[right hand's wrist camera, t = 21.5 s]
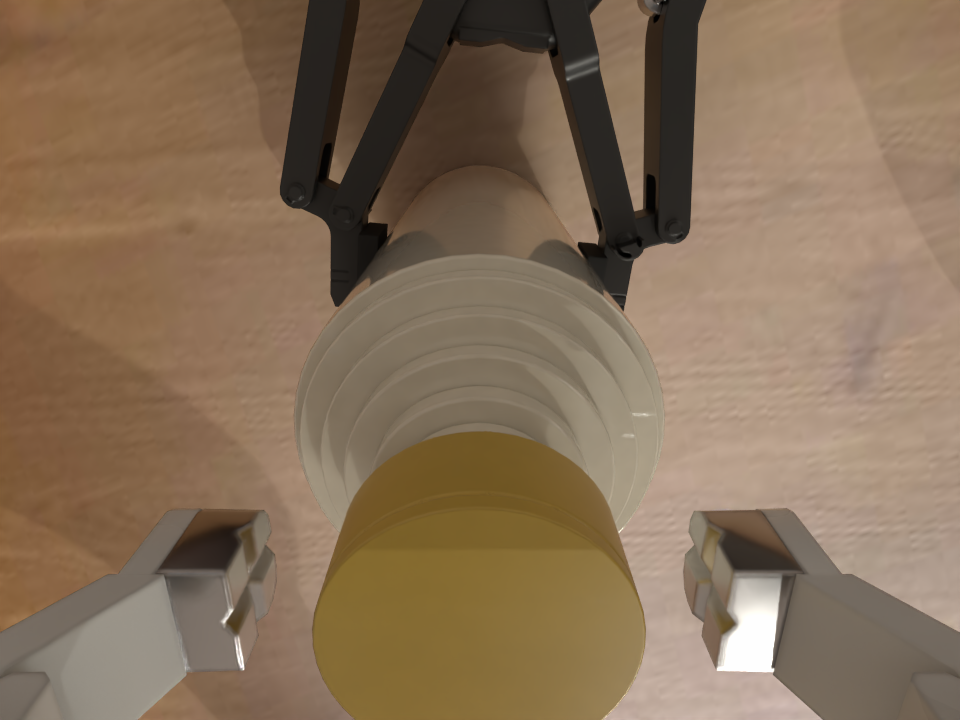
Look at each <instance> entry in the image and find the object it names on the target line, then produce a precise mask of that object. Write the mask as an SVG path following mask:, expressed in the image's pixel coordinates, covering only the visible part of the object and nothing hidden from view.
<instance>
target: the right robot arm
mask: <svg viewBox="0 0 960 720" xmlns="http://www.w3.org/2000/svg"><path fill="white" fill-rule="evenodd" d="M270 534H271V527H270V521H269V516H268V514H267V513H266V512H265V511H264V510H233V509H203V510H202V509H173V510H170V511H167V512H166V513H165V514H164V516H163V517H162V518H161V519H160V521H159V522H158V523H157V525H156V526H155V527H154V528H153V530H152V531H151V532H150V534H149V535H148V536H147V537H146V539H145V540H144V541H143V543H142V544H141V545H140V546H139V548H138V549H137V550H136V552H135V553H134V554H133V555H132V557H131V558H130V559H129V560H128V562H127V563H126V564H125V566H124V567H123V568H122V569H121V571H120V572H119V573H118V574H108V575H106V576H104V577H102V578H100V579H98V580H96V581H95V582H93V583H91V584H89V585H87V586H85V587H83V588H82V589H80V590H78V591H76V592H74V593H72V594H71V595H69V596H67V597H65V598H63V599H61V600H59V601H58V602H56V603H54V604H52V605H50V606H48V607H46V608H45V609H43V610H41V611H39V612H37V613H35V614H33V615H32V616H30V617H28V618H26V619H24V620H22V621H20V622H19V623H17V624H15V625H13V626H11V627H9V628H8V629H6V630H4V631H2V632H0V720H137V719H139V718H140V717H141V716H142V715H143V714H144V713H145V712H146V711H147V710H149V709H150V708H151V707H152V706H153V705H154V704H155V703H156V702H157V701H159V700H160V699H161V698H162V697H163V696H164V695H165V694H166V693H167V692H169V691H170V690H171V689H172V688H173V687H174V686H175V685H176V684H177V683H179V682H180V681H181V680H182V679H183V678H184V677H185V676H186V675H187V673H186V672H205V671H239V670H244V668H245V666H246V664H247V661H248V659H249V657H250V654H251V652H252V650H253V647H254V645H255V643H256V640H257V638H258V630H257V624H256V622H257V621H259V620H260V619H261V618H263V617H264V616H265V615H267V614H268V611H269V609H270V606H271V604H272V601H273V597H274V592H275V587H276V568H277V567H276V560H275V554H274V553H273V552H272V551H271V550H270V549H269V548H268V547H267V546H266V542H267V540H268V538H269V536H270ZM689 534H690V536H691V538H692V540H693V542H694V546H693V547H692V548H691V549H690V550H689V551H688V552H687V553H686V554H685V561H684V569H683V575H684V589H685V593H686V597H687V601H688V604H689V606H690V609H691V611H692V614H693V615H695V616H696V617H697V618H699V619H700V620H701V621H703V622H704V624H703V630H702V638H703V640H704V643H705V645H706V647H707V650H708V652H709V654H710V657H711V659H712V661H713V664H714V666H715V668H716V670H719V671H755V672H774V673H773V675H774V676H775V677H776V678H777V679H778V680H780V681H781V682H782V683H783V684H784V685H785V686H786V687H787V688H788V689H789V690H791V691H792V692H793V693H794V694H795V695H796V696H797V697H798V698H799V699H801V700H802V701H803V702H804V703H805V704H806V705H807V706H808V707H809V708H811V709H812V710H813V711H814V712H815V713H816V714H817V715H818V716H819V717H821V718H822V719H823V720H960V632H958V631H956V630H954V629H952V628H950V627H948V626H947V625H945V624H943V623H941V622H939V621H937V620H936V619H934V618H932V617H930V616H928V615H926V614H924V613H923V612H921V611H919V610H917V609H915V608H913V607H912V606H910V605H908V604H906V603H904V602H902V601H900V600H899V599H897V598H895V597H893V596H891V595H889V594H888V593H886V592H884V591H882V590H880V589H878V588H876V587H875V586H873V585H871V584H869V583H867V582H865V581H864V580H862V579H860V578H858V577H856V576H854V575H852V574H842V573H841V572H840V571H839V570H838V568H837V567H836V566H835V564H834V563H833V562H832V561H831V559H830V558H829V557H828V555H827V554H826V553H825V552H824V550H823V549H822V548H821V547H820V545H819V544H818V543H817V541H816V540H815V539H814V538H813V536H812V535H811V534H810V532H809V531H808V530H807V529H806V527H805V526H804V525H803V524H802V522H801V521H800V520H799V518H798V517H797V516H796V515H795V513H794V512H793V511H791V510H789V509H787V508H782V509H756V510H725V511H694V512H693V515H692V517H691V520H690V526H689Z"/></svg>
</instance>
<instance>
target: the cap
mask: <svg viewBox="0 0 960 720" xmlns="http://www.w3.org/2000/svg"><path fill="white" fill-rule="evenodd" d="M312 636H313V648H314V653H315V657H316V662H317V665H318V668H319V670H320V673H321V675H322V678H323V680H324V682H325V683H326V685H327V687H328V689H329V690H330V692H331V694H332V695H333V696H334V698H335V699H336V700H337V701H338V703H339V704H340V705H341V706H342V708H344V709H345V710H346V711H347V712H348V713H349V714H350V715H351V716H352V717H353V718H354V719H355V720H603V719H604V718H605V717H606V716H607V715H608V714H609V713H610V712H611V711H612V710H614V709H615V708H616V707H617V705H618V704H619V703H620V701H621V700H622V699H623V698H624V696H625V695H626V694H627V692H628V691H629V689H630V687H631V685H632V684H633V682H634V680H635V678H636V676H637V673H638V671H639V668H640V665H641V663H642V658H643V653H644V648H645V636H646V626H645V619H644V612H643V609H642V605H641V602H640V599H639V596H638V593H637V590H636V587H635V584H634V581H633V577H632V574H631V571H630V568H629V565H628V562H627V559H626V556H625V553H624V549H623V546H622V543H621V540H620V537H619V534H618V531H617V528H616V525H615V522H614V519H613V515H612V512H611V509H610V507H609V505H608V503H607V501H606V499H605V497H604V495H603V494H602V492H601V491H600V489H599V488H598V487H597V485H596V484H595V482H594V481H593V480H592V479H591V478H590V477H589V476H588V475H587V474H586V473H585V472H584V471H583V470H582V469H581V468H580V467H579V466H577V465H576V464H575V463H574V462H572V461H571V460H570V459H569V458H567V457H565V456H564V455H562V454H560V453H559V452H557V451H555V450H554V449H552V448H550V447H548V446H546V445H543V444H542V443H538V442H536V441H533V440H530V439H527V438H523V437H520V436H517V435H511V434H505V433H499V432H492V431H489V432H488V431H473V432H459V433H453V434H447V435H442V436H438V437H433V438H432V439H431V438H430V439H428V440H425V441H422V442H420V443H418V444H415V445H413V446H411V447H409V448H406V449H404V450H403V451H401V452H400V453H398V454H396V455H395V456H393V457H391V458H390V459H388V460H387V461H386V462H384V463H383V464H382V465H381V466H380V467H378V468H377V469H376V470H375V471H374V472H373V473H372V474H371V475H370V476H369V477H368V478H367V479H366V480H365V481H364V483H363V484H362V486H361V487H360V488H359V490H358V491H357V493H356V494H355V496H354V498H353V500H352V502H351V504H350V506H349V508H348V510H347V513H346V516H345V519H344V522H343V525H342V528H341V531H340V534H339V538H338V541H337V544H336V547H335V550H334V553H333V556H332V559H331V562H330V565H329V568H328V571H327V574H326V577H325V581H324V584H323V586H322V590H321V593H320V596H319V599H318V602H317V605H316V609H315V612H314V619H313V627H312Z"/></svg>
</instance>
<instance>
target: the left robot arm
mask: <svg viewBox="0 0 960 720" xmlns="http://www.w3.org/2000/svg"><path fill="white" fill-rule="evenodd" d="M601 1H602V0H423V2H422V5H421V7H420V9H419V11H418V13H417V15H416V18H415V20H414V22H413V24H412V26H411V28H410V31H409V33H408V35H407V38H406V41H405V45H404V48H403V50H402V53H401V55H400V57H399V59H398V61H397V63H396V65H395V68H394V70H393V72H392V74H391V76H390V78H389V81H388V83H387V85H386V87H385V89H384V91H383V93H382V96H381V98H380V100H379V102H378V104H377V106H376V109H375V111H374V113H373V115H372V117H371V119H370V121H369V124H368V126H367V128H366V130H365V132H364V134H363V137H362V139H361V141H360V143H359V145H358V147H357V149H356V152H355V154H354V156H353V158H352V160H351V162H350V164H349V167H348V169H347V171H346V173H345V175H344V177H343V180H342V182H341V184H338V183H336V182H334V181H332V180H330V179H328V178H329V173H330V168H331V162H332V157H333V151H334V146H335V140H336V135H337V129H338V124H339V118H340V113H341V108H342V102H343V97H344V91H345V86H346V80H347V75H348V69H349V64H350V59H351V53H352V48H353V42H354V37H355V31H356V26H357V20H358V13H359V6H360V0H309V6H308V12H307V19H306V25H305V32H304V38H303V44H302V51H301V57H300V63H299V70H298V76H297V83H296V89H295V95H294V102H293V108H292V114H291V121H290V127H289V134H288V140H287V146H286V153H285V159H284V165H283V172H282V178H281V185H280V195H281V197H282V199H283V201H284V202H285V203H286V204H287V205H288V206H290V207H292V208H298V209H300V208H301V209H304V210H306V211H308V212H310V213H312V214H315V215H317V216H319V217H320V218H322V219H323V220H324V221H325V222H326V223H327V225H328V227H329V229H330V233H331V297H332V299H333V302H334V304H335V306H336V307H339V306H340V304H341V303H342V302H343V300H344V299H345V297H346V296H347V294H348V293H349V292H350V290H351V289H352V287H353V286H354V284H355V283H356V282H357V280H358V279H359V277H360V276H361V274H362V273H363V272H364V270H365V269H366V267H367V266H368V264H369V263H370V262H371V260H372V259H373V257H374V256H375V254H376V253H377V252H378V250H379V249H380V247H381V246H382V244H383V243H384V241H385V240H386V239H387V227H388V224H382V223H371V222H370V223H369V224H368V214H369V213H370V212H371V211H372V209H371V208H372V206H373V204H374V202H375V200H376V198H377V196H378V194H379V192H380V190H381V188H382V185H383V183H384V181H385V179H386V177H387V175H388V173H389V171H390V169H391V167H392V165H393V163H394V161H395V159H396V157H397V155H398V153H399V151H400V149H401V147H402V145H403V143H404V140H405V138H406V136H407V134H408V132H409V130H410V128H411V126H412V124H413V122H414V120H415V118H416V116H417V114H418V112H419V110H420V108H421V106H422V104H423V102H424V100H425V98H426V95H427V93H428V91H429V89H430V87H431V85H432V83H433V81H434V79H435V77H436V75H437V73H438V71H439V69H440V68H441V66H442V64H443V63H444V61H445V59H446V57H447V55H448V53H449V51H450V49H451V47H452V45H453V43H454V40H455V41H457V42H459V43H460V45H466V46H475V47H483V46H489V45H494V44H499V43H503V44H506V45H508V46H511V47H513V48H515V49H518V50H520V51H523V52H533V53H544V52H545V51H548V53H549V56H550V60H551V64H552V67H553V71H554V74H555V77H556V79H557V81H558V84H559V88H560V92H561V95H562V99H563V103H564V107H565V110H566V114H567V118H568V122H569V126H570V129H571V133H572V137H573V141H574V144H575V148H576V152H577V156H578V159H579V163H580V167H581V171H582V175H583V178H584V182H585V186H586V190H587V193H588V197H589V201H590V205H591V208H592V212H593V216H594V220H595V223H596V227H597V231H598V234H599V240H598V246H597V244H594V243H583V242H578V247H579V249H580V250H581V251H582V253H583V254H584V256H585V257H586V259H587V260H588V261H589V263H590V264H591V266H592V267H593V269H594V270H595V272H596V273H597V274H598V276H599V277H600V279H601V280H602V282H603V283H604V285H605V286H606V287H607V289H608V290H609V292H610V293H611V295H612V296H613V298H614V299H615V300H616V302H617V303H618V305H619V306H620V308H621V309H622V311H623V312H624V305H625V301H626V296H627V290H628V285H629V280H630V274H631V269H632V264H633V261H634V259H636V258H638V257H639V256H640V255H641V253H642V252H643V250H644V249H645V248H648V247H651V246H655V245H659V244H663V243H669V244H676V243H679V242H681V241H682V240H684V239H685V238H686V236H687V235H688V233H689V229H690V216H691V190H692V165H693V139H694V114H695V88H696V63H697V37H698V23H699V20H700V17H701V14H702V11H703V9H704V6H705V3H706V0H637V3H638V7H639V9H640V10H641V11H642V13H643V14H645V15H647V16H650V17H649V21H648V26H647V32H646V43H645V99H644V184H643V210H639V211H635V212H634V210H633V205H632V201H631V197H630V193H629V189H628V185H627V181H626V176H625V172H624V168H623V164H622V160H621V156H620V152H619V147H618V143H617V139H616V135H615V131H614V127H613V123H612V118H611V114H610V110H609V106H608V102H607V98H606V94H605V89H604V85H603V81H602V77H601V73H600V68H599V54H598V49H597V45H596V41H595V36H594V32H593V28H592V24H591V20H590V16H589V15H590V14H591V13H592V12H593V10H594V9H595V8H596V7H597V6H598V4H599V3H600V2H601Z"/></svg>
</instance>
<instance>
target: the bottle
mask: <svg viewBox="0 0 960 720" xmlns="http://www.w3.org/2000/svg"><path fill="white" fill-rule="evenodd" d="M664 423H665V410H664V401H663V392H662V388H661V384H660V380H659V376H658V373H657V370H656V367H655V365H654V362H653V360H652V358H651V355H650V353H649V351H648V349H647V347H646V346H645V344H644V342H643V341H642V339H641V337H640V336H639V334H638V332H637V331H636V329H635V328H634V326H633V325H632V324H631V322H630V321H629V319H628V318H627V316H626V315H625V313H624V312H623V311H622V309H621V308H620V306H619V305H618V303H617V302H616V300H615V299H614V298H613V296H612V295H611V293H610V292H609V290H608V289H607V287H606V286H605V285H604V283H603V282H602V280H601V279H600V277H599V276H598V274H597V273H596V272H595V270H594V269H593V267H592V266H591V264H590V263H589V261H588V260H587V259H586V257H585V256H584V254H583V253H582V251H581V250H580V249H579V247H578V246H577V244H576V243H575V241H574V240H573V238H572V237H571V236H570V234H569V233H568V231H567V230H566V228H565V227H564V225H563V224H562V223H561V221H560V220H559V218H558V217H557V215H556V214H555V212H554V211H553V210H552V208H551V207H550V205H549V204H548V202H547V201H546V199H545V198H544V197H543V196H542V195H541V193H540V192H539V191H538V190H537V189H536V188H535V187H534V186H533V185H532V184H531V183H529V182H528V181H526V180H525V179H524V178H522V177H521V176H519V175H517V174H515V173H513V172H510V171H508V170H505V169H502V168H497V167H493V166H482V165H477V166H467V167H462V168H457V169H455V170H452V171H449V172H447V173H445V174H443V175H441V176H439V177H437V178H436V179H434V180H433V181H432V182H430V183H429V184H428V185H427V186H425V187H424V188H423V189H422V190H421V191H420V193H419V194H418V195H417V196H416V197H415V199H414V200H413V201H412V203H411V204H410V206H409V207H408V209H407V210H406V211H405V213H404V214H403V216H402V217H401V219H400V220H399V221H398V223H397V224H396V226H395V227H394V229H393V230H392V231H391V233H390V234H389V236H388V237H387V239H386V240H385V241H384V243H383V244H382V246H381V247H380V249H379V250H378V252H377V253H376V254H375V256H374V257H373V259H372V260H371V262H370V263H369V264H368V266H367V267H366V269H365V270H364V272H363V273H362V274H361V276H360V277H359V279H358V280H357V282H356V283H355V284H354V286H353V287H352V289H351V290H350V292H349V293H348V294H347V296H346V297H345V299H344V300H343V302H342V303H341V304H340V306H339V307H338V309H337V310H336V312H335V313H334V314H333V316H332V317H331V319H330V320H329V322H328V323H327V324H326V326H325V327H324V329H323V330H322V332H321V333H320V335H319V337H318V338H317V340H316V342H315V343H314V345H313V347H312V348H311V350H310V352H309V355H308V357H307V359H306V362H305V364H304V367H303V369H302V371H301V375H300V379H299V383H298V387H297V391H296V398H295V408H294V429H295V440H296V445H297V450H298V455H299V459H300V462H301V465H302V467H303V470H304V473H305V476H306V479H307V481H308V483H309V485H310V487H311V490H312V492H313V494H314V496H315V498H316V500H317V502H318V504H319V506H320V508H321V509H322V511H323V512H324V514H325V515H326V516H327V518H328V519H329V521H330V522H331V524H332V525H333V526H334V527H335V528H336V530H337V531H338V532H339V533H340V531H341V528H342V525H343V522H344V519H345V516H346V513H347V510H348V508H349V506H350V504H351V502H352V500H353V498H354V496H355V494H356V493H357V491H358V490H359V488H360V487H361V486H362V484H363V483H364V481H365V480H366V479H367V478H368V477H369V476H370V475H371V474H372V473H373V472H374V471H375V470H376V469H377V468H378V467H380V466H381V465H382V464H383V463H384V462H386V461H387V460H388V459H390V458H391V457H393V456H395V455H396V454H398V453H400V452H401V451H403V450H404V449H406V448H409V447H411V446H413V445H415V444H418V443H420V442H422V441H425V440H428V439H430V438H431V439H432V438H433V437H438V436H442V435H447V434H453V433H459V432H473V431H488V432H489V431H492V432H499V433H505V434H511V435H517V436H520V437H523V438H527V439H530V440H533V441H536V442H538V443H542V444H543V445H546V446H548V447H550V448H552V449H554V450H555V451H557V452H559V453H560V454H562V455H564V456H565V457H567V458H569V459H570V460H571V461H572V462H574V463H575V464H576V465H577V466H579V467H580V468H581V469H582V470H583V471H584V472H585V473H586V474H587V475H588V476H589V477H590V478H591V479H592V480H593V481H594V482H595V484H596V485H597V487H598V488H599V489H600V491H601V492H602V494H603V495H604V497H605V499H606V501H607V503H608V505H609V507H610V509H611V512H612V515H613V519H614V522H615V525H616V528H617V531H618V534H619V533H620V531H621V530H622V529H623V528H624V527H625V526H626V525H627V523H628V522H629V520H630V519H631V518H632V516H633V515H634V513H635V512H636V510H637V509H638V507H639V505H640V503H641V501H642V499H643V497H644V495H645V494H646V492H647V489H648V487H649V484H650V482H651V480H652V478H653V475H654V472H655V470H656V467H657V464H658V461H659V458H660V454H661V448H662V443H663V438H664Z"/></svg>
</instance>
